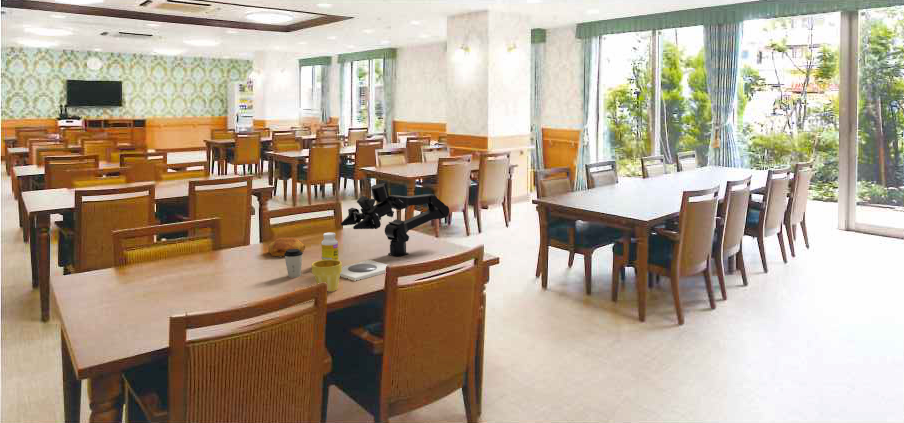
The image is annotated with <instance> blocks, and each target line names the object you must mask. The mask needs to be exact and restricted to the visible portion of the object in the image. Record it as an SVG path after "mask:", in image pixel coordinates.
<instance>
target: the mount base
mask: <svg viewBox="0 0 904 423" xmlns="http://www.w3.org/2000/svg"><path fill="white" fill-rule="evenodd" d="M387 265H388V264H386V263H383V262H379V261H374V260H371V259H367V260H363V261H360V262H355V263H351V264H348V265H344V266H343V265H342V272H341V273H340V276H341V277H340V278H344V279H347V278H348V280H350V279H351V281H353V280H354V282H356V280H357V281H360V279H361V280H365V279H368V278H372V277H374V276H375V277H376V276H378V275H382V274H385V268H386V266H387Z"/></svg>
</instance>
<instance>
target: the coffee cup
mask: <svg viewBox="0 0 904 423" xmlns="http://www.w3.org/2000/svg"><path fill="white" fill-rule="evenodd" d="M284 256H285V257H284V260H285V264H286V270H287V276H288V277H289V278H295V279H296V278H299V277H301V275H302V264H303V263H302V261H303V252H301V251H300V250H299V249H289V250H286V253H285V254H284Z"/></svg>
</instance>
